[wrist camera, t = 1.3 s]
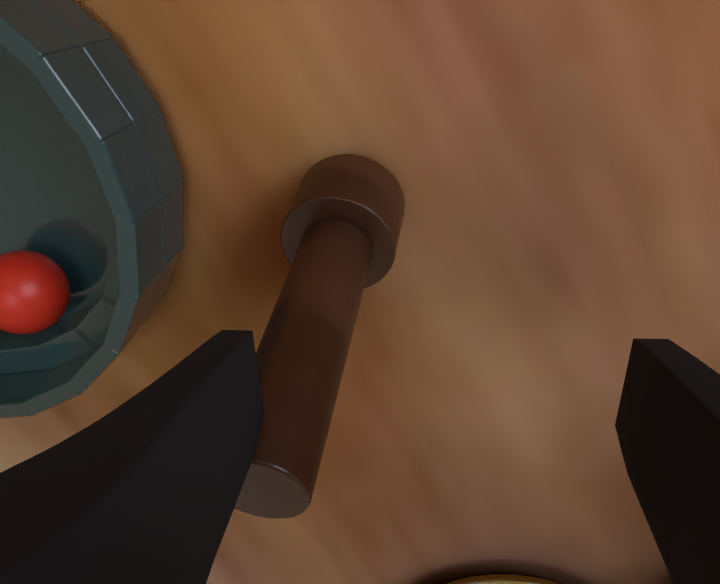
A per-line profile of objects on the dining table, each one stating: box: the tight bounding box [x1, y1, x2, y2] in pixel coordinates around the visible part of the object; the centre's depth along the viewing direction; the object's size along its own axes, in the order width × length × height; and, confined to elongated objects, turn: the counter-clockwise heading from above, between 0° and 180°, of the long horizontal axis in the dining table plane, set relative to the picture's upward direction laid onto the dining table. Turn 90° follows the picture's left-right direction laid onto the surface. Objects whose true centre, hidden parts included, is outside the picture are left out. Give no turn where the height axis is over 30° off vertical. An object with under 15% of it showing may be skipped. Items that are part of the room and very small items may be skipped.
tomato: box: [0, 250, 71, 334], centre depth 22 cm, size 3×3×3 cm
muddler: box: [234, 154, 404, 518], centre depth 17 cm, size 4×4×11 cm
